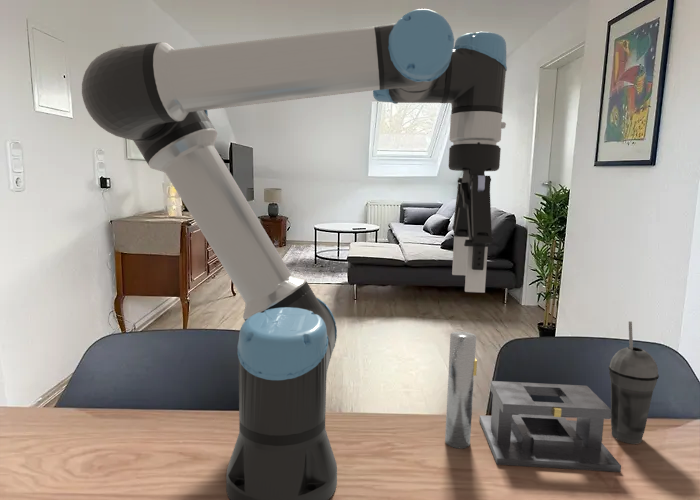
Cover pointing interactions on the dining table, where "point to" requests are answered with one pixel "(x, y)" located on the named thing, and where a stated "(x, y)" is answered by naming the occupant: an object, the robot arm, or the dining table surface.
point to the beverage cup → (631, 391)
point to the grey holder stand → (547, 427)
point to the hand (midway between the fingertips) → (466, 282)
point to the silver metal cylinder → (460, 389)
